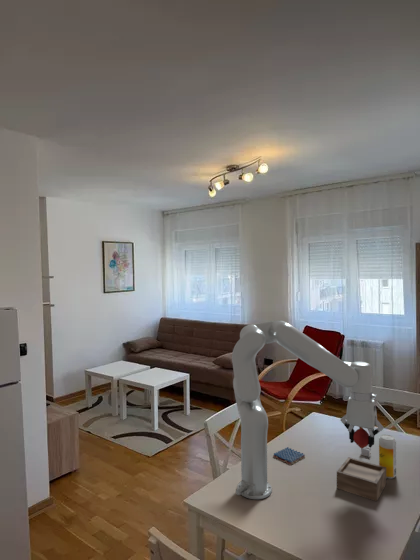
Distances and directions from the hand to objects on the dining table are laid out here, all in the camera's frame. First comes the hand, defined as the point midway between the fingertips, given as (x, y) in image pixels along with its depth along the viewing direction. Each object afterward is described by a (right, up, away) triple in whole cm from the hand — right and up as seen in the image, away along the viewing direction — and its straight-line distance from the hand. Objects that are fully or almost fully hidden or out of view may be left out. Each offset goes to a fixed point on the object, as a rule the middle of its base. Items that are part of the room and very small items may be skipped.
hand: (361, 443), depth 142 cm
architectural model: (+17, -16, +27) cm, 36 cm away
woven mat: (-22, -17, +23) cm, 36 cm away
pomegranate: (0, -2, 0) cm, 2 cm away
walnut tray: (0, -16, 0) cm, 16 cm away
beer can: (+13, -16, +8) cm, 22 cm away
